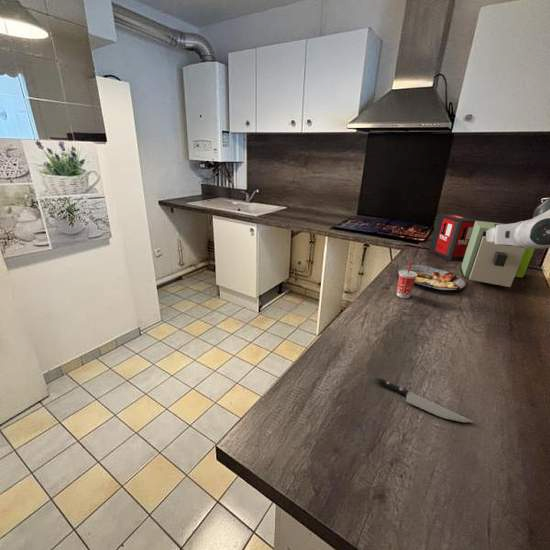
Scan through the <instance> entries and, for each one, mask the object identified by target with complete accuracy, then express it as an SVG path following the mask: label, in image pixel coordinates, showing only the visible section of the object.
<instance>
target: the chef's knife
mask: <svg viewBox="0 0 550 550" xmlns="http://www.w3.org/2000/svg"><path fill="white" fill-rule="evenodd" d="M376 381H377V383H378V384H380V385H384V386H386V387H389V388H391V389H393V390H395V391H397V392H398V393H401V394H403V395H405V397H406V403H408V404H411V405H412V406H415V407H417V408H419V409H421V410H424V411H426V412H428V413H431V414H433V415H435V416H436V417H440V418H443V419H446V420H450V421H456V422H461V423H474V421H473V420H472V419H469V418H467V417H465V416H463V415H461V414H459V413H457V412H455V411H452V410H451V409H449V408H446V407H444V406H442V405H439V404H437V403H436V402H433V401H431V400H429V399H427V398H424V397H422V396H420V395H418V394H415V393H414V392H411V391H409V390H407V389H405V388H403V387H401V386H398V385H396V384H393V383H392V382H390V381H388V380H385V379H383V378H380V377H376Z"/></svg>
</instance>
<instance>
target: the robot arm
mask: <svg viewBox="0 0 550 550" xmlns="http://www.w3.org/2000/svg"><path fill="white" fill-rule="evenodd" d="M486 241H487V242H492V243H495V245H507V246H515V247H519V248H525V249H535V250H542V249H543V250H544V249H548V248H550V196H549V197H548V198H546V199H545V200H544V201H542V202H541V203H540V204H539V205H538V206H537V207H536V208H535V209H534V211H533V214H532V218H530V219H527V220H520V221H517V222H512V223H501V225H496V227H495V228H491V229H489V230H487V232H486Z"/></svg>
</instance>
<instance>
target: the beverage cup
mask: <svg viewBox="0 0 550 550" xmlns="http://www.w3.org/2000/svg"><path fill="white" fill-rule="evenodd" d="M412 262H413V260H412V259H410V261H409V269H408V270H400V271H399V273H398V281H397V289H396V296H397V297H399V298H401V299H409V298H411V294H412V291H413V288H414V285H415V283H414V282H415V279H416V278H417V273H415V272H413V271H410V267H411V266H412Z"/></svg>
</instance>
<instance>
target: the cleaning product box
mask: <svg viewBox="0 0 550 550" xmlns="http://www.w3.org/2000/svg"><path fill="white" fill-rule="evenodd" d="M475 221H478V220H476V219H473V218H471V217H470V218H469V217H466V216H463V215H459V214H456V213H438V214H437V217H436V220H435V224H434V228H433V232H432V236H431V239H430V242H429V243H430V244H429V247H428V251H429V252H432V253H434V254H435V255H438V256H440V257H442V258H444V259H446V260H448V261H451V262H454V261H463V259H464V256H465V253H466V250H467V247H468V243H469V240H470V237H471V234H472V230H473V227H474V224H475Z"/></svg>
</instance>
